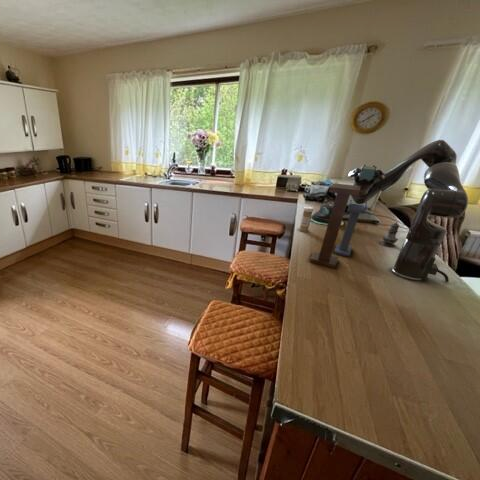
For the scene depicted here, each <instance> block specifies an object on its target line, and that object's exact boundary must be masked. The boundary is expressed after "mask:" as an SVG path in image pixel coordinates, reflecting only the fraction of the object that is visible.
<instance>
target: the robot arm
mask: <svg viewBox="0 0 480 480" xmlns="http://www.w3.org/2000/svg"><path fill="white" fill-rule="evenodd" d="M457 158H458V155H457V153H456V151H455V150H454V149H453V148H452V147H451V146H450V144H448V142H446V140H444V139H437V140H434V141H432V142H430V143H428V144H426V145H425V146H423V147H421V148H420V149H418V150H417V151H415V152H414V153H412V154H411V155H409V156H408V157H407V158H405V159H403V160H402V161H400V163H398V164H396V165H395V166H394V167H392V168H390V169H389V170H387V171H385V172H383V171H382V170H381V169H377V166H376V165H374V164H373V165H372V167H375V172H374V175H373V178H372V180H368V179H360V175H361V172H362V169H363V166H367V164H364V165H361V167H360V168H358V167H357V168H355V169H353V170H351V171H349V173H348V176H347V178H353V179H354V181H353V185H354V186H361V188H360V191H359V194H358V196H356V195H350V196H351V198H352V201H353V202H355V203H354V204H358V205H364V204H365V202H367V203H368V202H369V201H370V200H371V199H372V198H373V197H375V196H376V195H377V194H378V193H380V192H382V191H384V190H386V189H387V188H389V187H391V186H393V185H395V184H397V183H398V182H399V181H400V180H401V178H402V177H403V176H404V174H405V173H406V172H407V171H408V169H410V167H411V166H412V165H413V164H415V163H416V162H418V161H420V160H421V161H422V162H423V164H425V165H426V166H427V169H426V170H425V172H424V174H423V183H424V186H425V187H426V188H427V189H426V190H425V191H424V193H423V194H422V195H421V198H420V201H419V203H418V205H417V209H416V212H415V215H414V218H413V220H412V222H411V224H410V227H409V230H408V232H407V234H406V236H405V239H404V241H403V243H402V247H401V249H400V251H399V253H398V256H397V258H396V260H395V262H394V265H393V267H392V269H391V272H392V273H394V274H395V275H397V276H399V277H401V278H403V279H407V280H410V281H411V280H412V281H418V282H419V281H420V282H426V280H427V278H428V275H432V276H437V274H438V273H439V274H440V275H442V276H443V277H444V281H445V283H449V282H450V279H449V276H448V275H447V274H446V273H445V272H444V271H442V270H440V269H439V267H438V265H437V264H436V263H435V262H436V260H437V259H436V255H437V253H438V251H439V249H440V247H441V244H442V242H443V240H444V238H445V236H446V234H447V231H448V230H447V229H446V228H445V227H443V226H442V225H440V224H437V223H435V222H433V221H431V220H430V219H429V217H430V216H431V217H439V218H447V219H454V218H458V217H460V216H462V215H463V214H464V213H465V212H466V211H467V209H468V206H469V196H468V193H467V191H466V189H465V188H464V186H463V185H462V182H461V178H460V177H461V176H460V172H459V169H458V165H457Z"/></svg>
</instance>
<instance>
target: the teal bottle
mask: <svg viewBox="0 0 480 480" xmlns="http://www.w3.org/2000/svg"><path fill="white" fill-rule="evenodd" d="M362 166H363V169H362V172H361V175H360V179H368V180H372V178H373V175H374V172H375V167H376V166H375V167H373V166H372V165H366V166H364V165H362Z"/></svg>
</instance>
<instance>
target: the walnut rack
mask: <svg viewBox="0 0 480 480" xmlns="http://www.w3.org/2000/svg"><path fill="white" fill-rule="evenodd" d="M360 188H361V186H354V184H353V185H352V184H344V183H332V184H331V186H330V187H329V190H328V193H333V194H336V195H335V198H334V202H333V205H332V206H333V209H332V212H331V216H330V219H329V223H328V225H326V226H327V227H326V230H325V234H324V236H323V240H322V243H321V248H320V251H319V252H317V251H314V252H313V254H312V255H311V257H310V261H309V262H310V263H312V264H317V265H319V266H320V265H321V266H324V267H327V268H331V269H336V266H337V263H338V259H339V257H338V256H334V255H332V254H333V252H334V248H335V246H336V241H337V239H338V234H339V232H340V228H341V226H342V225H341V222H343V220H344V219H343V218H344V216H345V212H346V210H347V209H346V208H347V207H348V206H347V205H348V204H349V203H348V202H349V199H350V196H351V195H356V196H358V194H359V191H360Z"/></svg>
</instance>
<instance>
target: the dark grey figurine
mask: <svg viewBox="0 0 480 480" xmlns="http://www.w3.org/2000/svg"><path fill="white" fill-rule="evenodd" d="M399 227H400V225H399V224H398V222H397V221H395V223H392V224H391V225H390V228H389V229H388V232H387V234H385V235H382V242H380V244H381V245H382V246H385V247H389V248H395V244H396V242H398V240H399V239H398V238H397V233H398V232H399V231H398V230H399Z"/></svg>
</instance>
